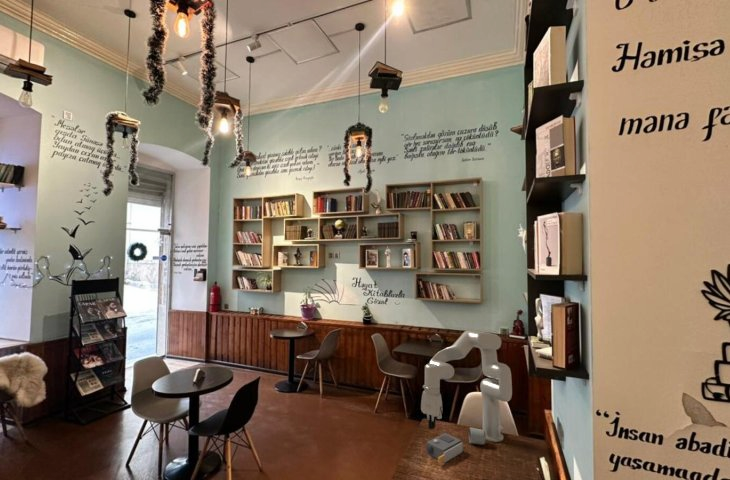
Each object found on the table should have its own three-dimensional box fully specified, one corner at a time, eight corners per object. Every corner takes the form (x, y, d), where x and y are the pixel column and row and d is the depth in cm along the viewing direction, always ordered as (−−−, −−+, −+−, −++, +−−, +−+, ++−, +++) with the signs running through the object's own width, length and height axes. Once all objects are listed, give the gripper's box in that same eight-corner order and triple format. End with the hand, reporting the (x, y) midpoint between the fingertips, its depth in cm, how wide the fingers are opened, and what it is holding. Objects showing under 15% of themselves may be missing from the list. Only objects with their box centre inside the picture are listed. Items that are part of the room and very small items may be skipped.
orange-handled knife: (461, 450, 172) (461, 441, 172) (463, 451, 171) (463, 442, 171) (437, 464, 158) (437, 454, 159) (439, 465, 158) (439, 455, 158)
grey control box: (445, 443, 179) (445, 431, 180) (461, 451, 172) (461, 438, 172) (425, 453, 168) (425, 440, 169) (442, 462, 161) (442, 448, 162)
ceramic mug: (486, 447, 176) (486, 432, 177) (470, 446, 178) (470, 430, 179) (482, 438, 187) (482, 424, 188) (467, 436, 188) (467, 422, 189)
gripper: (415, 387, 169) (415, 425, 167) (441, 395, 158) (441, 436, 156) (423, 384, 174) (423, 421, 172) (449, 392, 164) (449, 431, 162)
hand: (431, 428), depth 164 cm, fingers closed
